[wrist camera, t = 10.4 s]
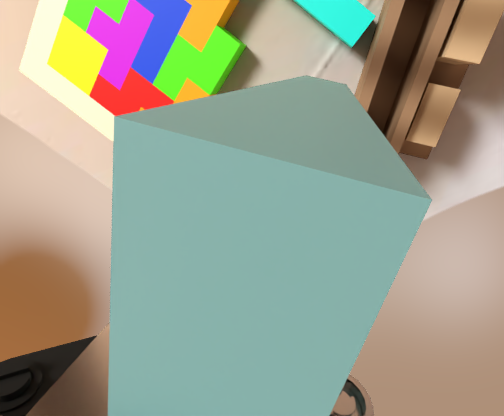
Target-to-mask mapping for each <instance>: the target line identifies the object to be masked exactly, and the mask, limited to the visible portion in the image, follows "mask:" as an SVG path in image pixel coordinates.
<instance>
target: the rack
mask: <svg viewBox="0 0 504 416" xmlns="http://www.w3.org/2000/svg"><path fill="white" fill-rule="evenodd" d="M459 2H460V0H385V1H384V4H383V7H382V10H381V14H380V17H379V20H378V23H377V26H376V29H375V33H374V36H373V39H372V42H371V45H370V48H369V52H368V55H367V58H366V61H365V64H364V67H363V70H362V74H361V77H360V80H359V83H358V86H357V89H356V93H355V97H356V99H357V100H358V101H359V103H360V104H361V105H362V107H363V108H364V109H365V111H366V112H367V113H368V115H369V116H370V117H371V119H372V120H373V121H374V123H375V124H376V125H377V127H378V128H379V129H380V131H381V132H382V134H383V135H384V136H385V138H386V139H387V140H388V142H389V143H390V144H391V146H392V147H393V148H394V150H395V151H396V152H397V154H399V153H403V154H407V155H412V156H416V157H420V158H424V159H427V158H428V156H429V154H430V152H431V149H432V146H428V145H423V144H419V143H415V142H411V141H407V140H405V137H406V134H407V132H408V129H409V127H410V124H411V122H412V119H413V117H414V114H415V112H416V109H417V107H418V104H419V102H420V99H421V97H422V94H423V92H424V89H425V87H426V84H427V83H432V84H437V85H441V86H446V87H451V88H455V89H458V88H459V86H460V84H461V82H462V79H463V77H464V75H465V72H466V70H467V68H468V66H469V64H458V65H454V64H449V63H444V62H440V61H436V59H437V57H438V54H439V52H440V49H441V47H442V44H443V42H444V39H445V37H446V34H447V32H448V29H449V27H450V24H451V22H452V19H453V17H454V14H455V12H456V9H457V7H458V4H459Z"/></svg>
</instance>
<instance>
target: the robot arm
mask: <svg viewBox="0 0 504 416" xmlns="http://www.w3.org/2000/svg"><path fill="white" fill-rule="evenodd" d="M109 333H110V322H109V323H108V324H107V325H106V327H105V328H104V329H103V330H102V331H101V332H100V333H99V334H98V335H97V336H93V337H90V338H86V339H82V340H78V341H75V342H71V343H67V344H63V345H60V346H56V347H52V348H48V349H45V350H41V351H37V352H33V353H30V354H26V355H22V356H18V357H15V358H11V359H8V360H5V361H3V362H0V416H108V380H109ZM329 416H374V410H373V405H372V402H371V398H370V396H369V395H368V393H367V391H366V389H365V388H364V387H363V386H362V385H361V383H360V382H359V381H358V380H357V379H355V378H354V377H352V376H351V375H350V374H349V376H348V378H347V380H346V382H345V384H344V386H343V388H342V390H341V392H340V394H339V397H338V399H337V401H336V403H335V405H334V407H333V409H332V411H331V413H330V415H329Z"/></svg>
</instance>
